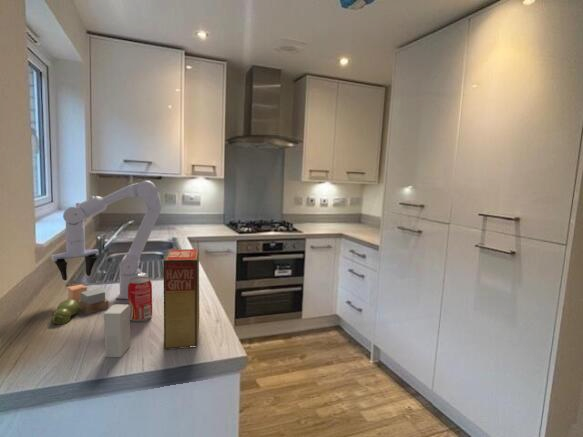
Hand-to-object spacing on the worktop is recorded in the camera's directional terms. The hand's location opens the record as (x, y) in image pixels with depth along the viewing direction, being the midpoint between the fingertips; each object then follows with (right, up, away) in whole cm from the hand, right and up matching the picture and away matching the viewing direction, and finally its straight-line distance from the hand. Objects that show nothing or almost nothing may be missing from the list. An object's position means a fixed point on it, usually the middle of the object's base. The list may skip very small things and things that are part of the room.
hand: (76, 277), depth 123 cm
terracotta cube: (0, -8, +1) cm, 8 cm away
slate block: (+9, -7, -6) cm, 13 cm away
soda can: (+28, -11, -12) cm, 32 cm away
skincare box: (+31, -14, -32) cm, 47 cm away
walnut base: (+9, -10, -6) cm, 15 cm away
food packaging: (+45, -14, -23) cm, 53 cm away
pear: (+6, -11, -15) cm, 19 cm away
